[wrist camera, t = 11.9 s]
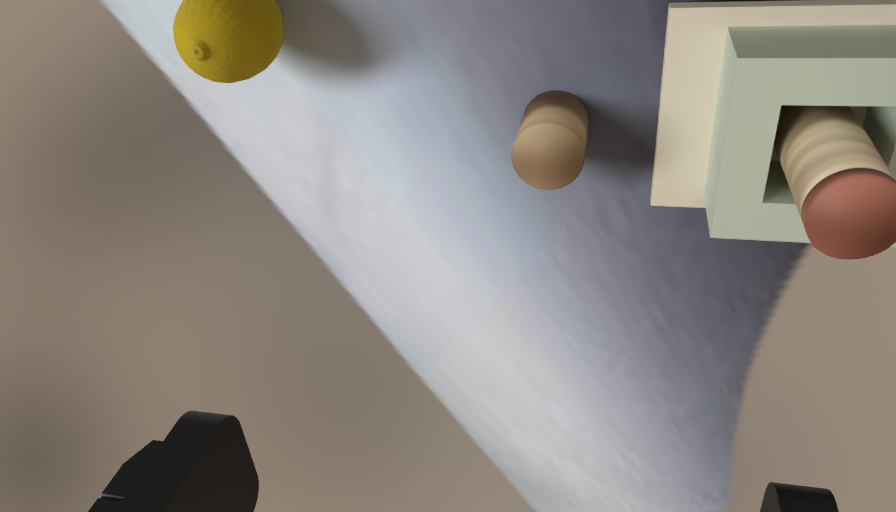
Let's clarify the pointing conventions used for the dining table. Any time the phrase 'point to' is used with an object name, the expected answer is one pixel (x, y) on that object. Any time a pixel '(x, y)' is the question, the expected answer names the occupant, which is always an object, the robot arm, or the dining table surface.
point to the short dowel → (551, 140)
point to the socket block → (764, 101)
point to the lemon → (228, 37)
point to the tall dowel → (837, 180)
